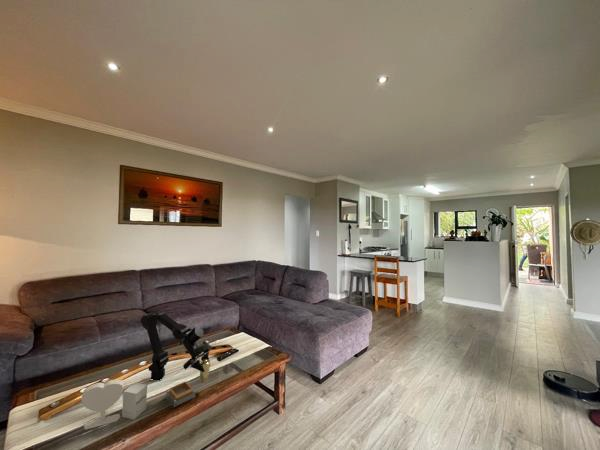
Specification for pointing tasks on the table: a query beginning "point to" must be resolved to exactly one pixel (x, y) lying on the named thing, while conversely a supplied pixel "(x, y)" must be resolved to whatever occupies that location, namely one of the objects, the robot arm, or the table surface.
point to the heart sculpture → (102, 400)
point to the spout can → (205, 371)
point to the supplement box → (134, 400)
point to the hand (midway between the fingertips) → (206, 369)
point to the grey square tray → (180, 394)
